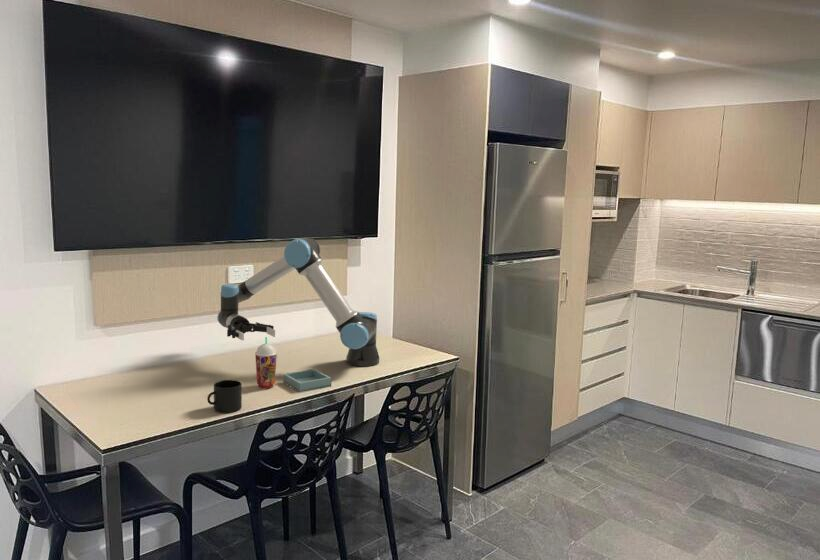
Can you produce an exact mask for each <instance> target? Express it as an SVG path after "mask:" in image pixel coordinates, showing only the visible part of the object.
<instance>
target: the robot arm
mask: <svg viewBox="0 0 820 560" xmlns="http://www.w3.org/2000/svg"><path fill="white" fill-rule="evenodd" d="M320 254H321V247H320V243H319V242H318V241H317V240H316V239H314V238H313V237H309V236H303V237H301V238H294V239H293V240H291V241H289V242H288V243H287V244H286V246H285V248H284V254H283V256H282V257H280V258H278V259H276V260H275V261H274V262H272V263H270V264H269V265H268V266H266V267H264V268H263V269H261V270H260V271H258V272H257V273H255V274H254V275H252V276H250V277H249V278H248V279H246V280H244V281H242V282H241V283H240V284H236V283H224V284H222V285H221V286H220V288H221V289H220V311H219V313H218V314H217V321H218V324H220V325H221V326H222V327H223V328H226V329H227V330H226V331H227V332H226V335H227V336H226V337H228V338H229V337H231V338H232V339H235V338H237V339H239V340H241V341H244V340H245V334H246V333H255V332H258V333H266V334H267V335H269V336H271V337H275V338H276V329H274V325H271V324H265V323H260V322H257V321H256V322H255V323H253V322H252V323H251V322H250V321H249V320H248V319H247V318H246V317H244V316H243V315H240V314H239V303H242V302H244V301H247V300H249V299H251V298H252V297H253V296H254V295H256V294H257V293H259V292H260V291H263V289H266V288H267V287H268V286H270V285H272V284H273V283H275V282H276V281H278V280H280V279H281V278H283V277H285V276H286V275H288V274H290V272H292V271H294V270H296V271H297V273H298V274H299V275H300V276H304V277H305V278H306V280H307V281H308V283H309V284H310V285H311V287H312V288H313V290H314V291H315V292H316V295H317V296H318V297H319V299H320V300H321V301H322V303H323V304H324V306H325V307H326V308H327V311H329V314H331V317H332V318H334V320H335V322H336V323H335V328H336V330H337V331H338V333H339V337H340V342H341V343H342V344H343V345H344V346H345V347H346V348H348V351H347V355H346V357H345V358H346V359H345V362H346V363H347V364H348V365H350V366H355V367H370V366H371V367H372V366H375V365H378V364H379V363H380V356H379V352H378V348H377V331H378V330H377V327H378V326H377V325H378V323H377V322H378V316H377V314H376V313H374V312H367V311H365V312H364V311H357V310H354V309H352V307H351V305H350V304H349V302H348V301H347V299H346V298H345V297H344V295H343V294H342V293H341V291H340V289H339V288H338V287H337V285H336V284H335V283H334V281H333V279H332V278H331V276H330V275H329V274H328V272H327V270H326V269H325V268H324V266H323V265H322V264H323V263H322V262H323V259H322V257H321V256H320Z"/></svg>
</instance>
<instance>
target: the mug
mask: <svg viewBox="0 0 820 560" xmlns="http://www.w3.org/2000/svg"><path fill="white" fill-rule="evenodd" d="M242 385H243V384H242V382H241V381H239V380H234V379H224V380H220V381H216V382H215V383H213V391H212V392H210V393H209V394H208V396H207V399H206V400H207V403H208V404H209V405H212V406H213V409H214V411H216V412H217V413H222V414H229V413H235V412H237V411H240V410H242V407H243V406H242V404H243V402H242V399H243V397H242V394H243V393H242V388H243V386H242ZM212 396H213V401H211V397H212Z"/></svg>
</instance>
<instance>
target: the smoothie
mask: <svg viewBox="0 0 820 560" xmlns="http://www.w3.org/2000/svg"><path fill="white" fill-rule="evenodd" d="M264 341H265V342H264V343H262V344H261V345H259V346H258V348H257V349H256V351H255V353H254V355H255V367H256V368H255V371H256V372H255V373H256V383H257V385H258V388H260V389H263V388H268V389H272V388H274V385H275V382H276V374H277V373H276V371H277V370H276V369H277V357H278V356H277V355H278V352H277V349H276V348H275V346H273V345H272V344H271V343H268V336H265V338H264ZM271 387H272V388H271Z"/></svg>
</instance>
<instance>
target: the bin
mask: <svg viewBox="0 0 820 560" xmlns="http://www.w3.org/2000/svg"><path fill="white" fill-rule="evenodd" d="M282 378H283V379H282V382H284V383H283V384H285V383H286V384H285V385H287V384H288V385H289V387H290V386H291V387H290V388H292V389H294V390H295V389H296V390H295V391H297V392H299V393H303V392H310V391H314V390H319V389H324V388H329V387H332V377H330V376H329V375H326V374H325V373H322V372H321V371H320V370H317V369H315V368H312V369H305V370H299V371H294V372H288V373H283V375H282ZM288 385H287V386H288ZM318 388H319V389H318Z"/></svg>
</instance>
